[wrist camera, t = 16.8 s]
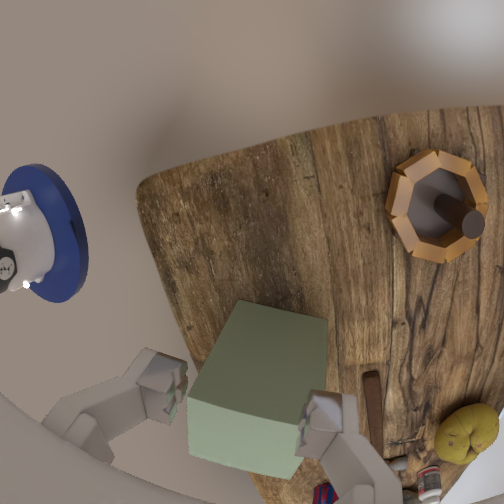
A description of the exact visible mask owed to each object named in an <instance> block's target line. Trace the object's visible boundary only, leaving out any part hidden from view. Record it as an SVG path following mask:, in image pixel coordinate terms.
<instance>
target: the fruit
mask: <svg viewBox="0 0 504 504" xmlns="http://www.w3.org/2000/svg"><path fill="white" fill-rule="evenodd" d="M498 432H499V418H498V415H497V413H496V411H495V410H494V409H493V408H492V407H491V406H489V405H486V404H482V403H477V404H472V405H468V406H465V407H462V408H460V409H458V410H456V411H455V412H454V413H453V414H452V415H450V416H449V417H448V418H447V419H446V420H445V421H444V422H443V423H442V424H441V425H440V426H439V428H438V430H437V432H436V435H435V440H434V447H435V451H436V453H437V455H438V456H439V457H440V458H441V459H443V460H445V461H450V462H452V463H454V464H467V463H470V462H472V461H473V460H475V459H476V458H477V456H478V455H479V453H481V452H483V451H484V450H486V449H487V448H488V447H489V446H490V445H491V444H493V442H494V441H495V440H496V438H497V435H498Z"/></svg>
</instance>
